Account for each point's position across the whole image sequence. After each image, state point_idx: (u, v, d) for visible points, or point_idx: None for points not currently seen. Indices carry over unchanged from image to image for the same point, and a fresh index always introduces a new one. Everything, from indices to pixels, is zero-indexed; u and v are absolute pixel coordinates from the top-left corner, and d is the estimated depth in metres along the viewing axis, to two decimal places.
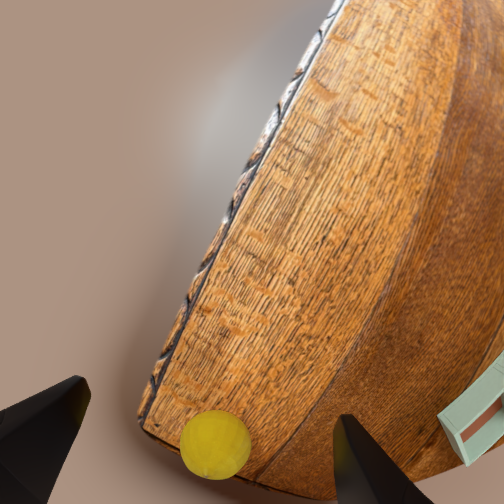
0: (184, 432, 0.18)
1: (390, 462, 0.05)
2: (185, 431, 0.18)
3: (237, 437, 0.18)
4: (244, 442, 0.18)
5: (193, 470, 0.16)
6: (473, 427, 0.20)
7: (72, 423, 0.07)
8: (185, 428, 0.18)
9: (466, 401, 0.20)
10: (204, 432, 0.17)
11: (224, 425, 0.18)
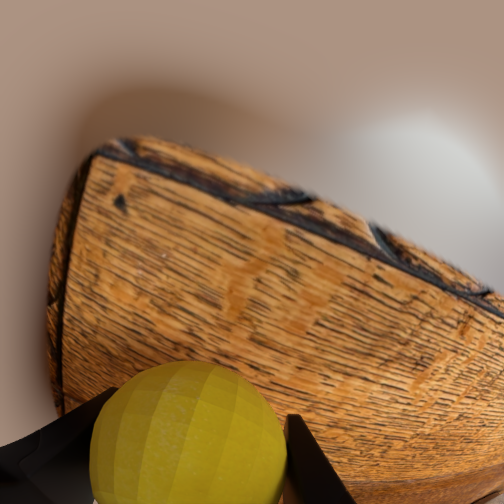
0: (228, 443, 0.05)
1: (329, 469, 0.05)
2: (234, 444, 0.05)
3: None
4: None
5: None
6: None
7: None
8: (235, 427, 0.05)
9: None
10: (272, 500, 0.05)
11: None
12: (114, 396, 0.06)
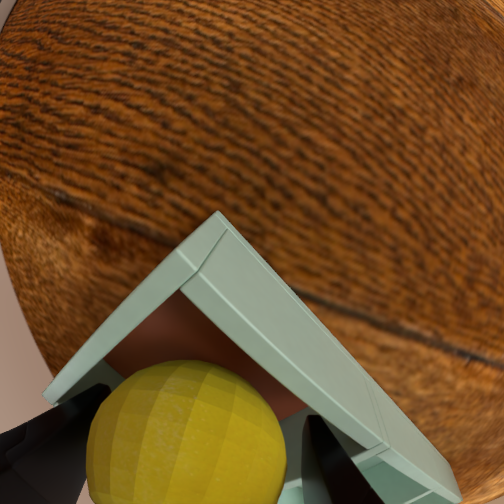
0: (226, 443, 0.05)
1: (353, 467, 0.05)
2: (232, 444, 0.05)
3: None
4: None
5: None
6: None
7: None
8: (232, 428, 0.05)
9: (286, 301, 0.08)
10: (270, 501, 0.05)
11: None
12: (111, 395, 0.06)
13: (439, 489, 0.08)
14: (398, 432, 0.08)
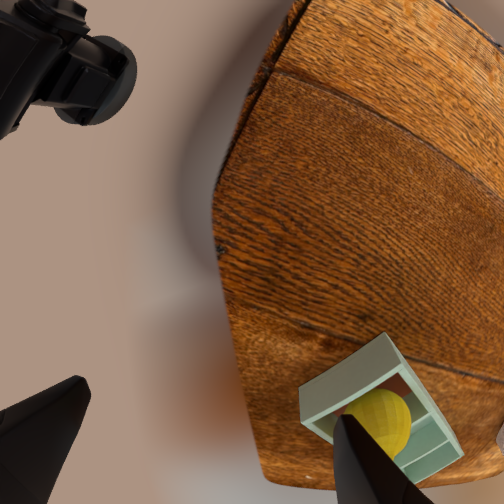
0: (403, 411, 0.16)
1: (390, 462, 0.05)
2: (404, 411, 0.16)
3: None
4: None
5: (380, 446, 0.15)
6: None
7: (72, 423, 0.07)
8: (403, 406, 0.17)
9: (406, 363, 0.20)
10: None
11: None
12: (362, 408, 0.17)
13: (452, 439, 0.20)
14: (435, 407, 0.20)
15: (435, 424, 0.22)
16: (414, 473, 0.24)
